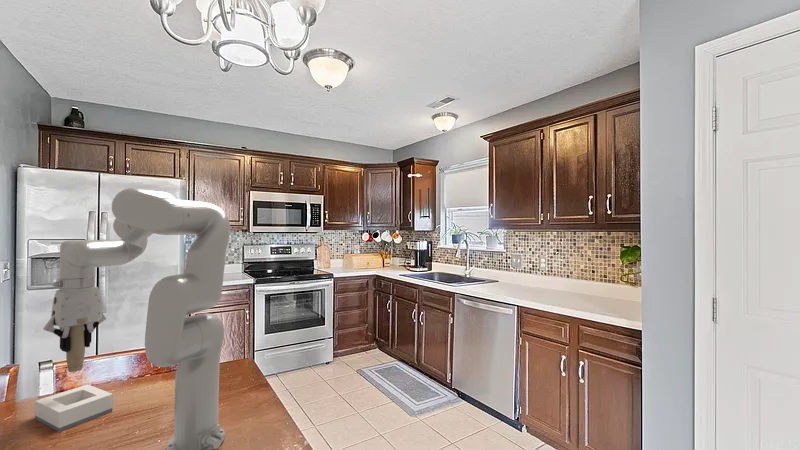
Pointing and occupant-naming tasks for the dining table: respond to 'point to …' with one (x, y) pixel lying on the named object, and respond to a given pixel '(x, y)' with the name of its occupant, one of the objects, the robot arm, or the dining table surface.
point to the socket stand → (73, 407)
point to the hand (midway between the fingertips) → (75, 348)
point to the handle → (76, 346)
